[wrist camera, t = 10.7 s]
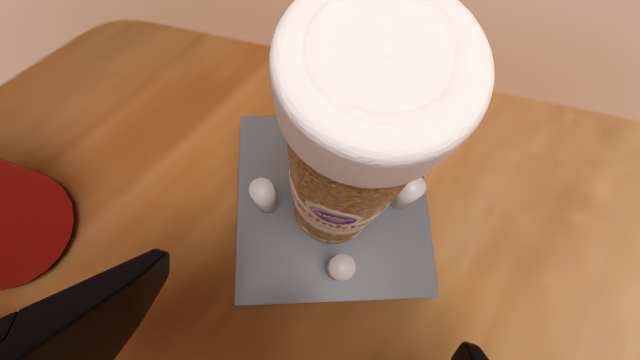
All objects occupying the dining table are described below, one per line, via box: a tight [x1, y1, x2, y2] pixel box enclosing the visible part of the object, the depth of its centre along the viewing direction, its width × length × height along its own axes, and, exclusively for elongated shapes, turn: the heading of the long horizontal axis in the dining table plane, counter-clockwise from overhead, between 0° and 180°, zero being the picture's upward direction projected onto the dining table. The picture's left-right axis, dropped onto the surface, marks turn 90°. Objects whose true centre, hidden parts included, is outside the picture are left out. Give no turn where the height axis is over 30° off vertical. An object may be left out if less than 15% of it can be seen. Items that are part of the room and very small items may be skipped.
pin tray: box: [234, 116, 439, 306], centre depth 18 cm, size 11×11×4 cm
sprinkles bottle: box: [269, 0, 495, 244], centre depth 13 cm, size 5×5×13 cm
